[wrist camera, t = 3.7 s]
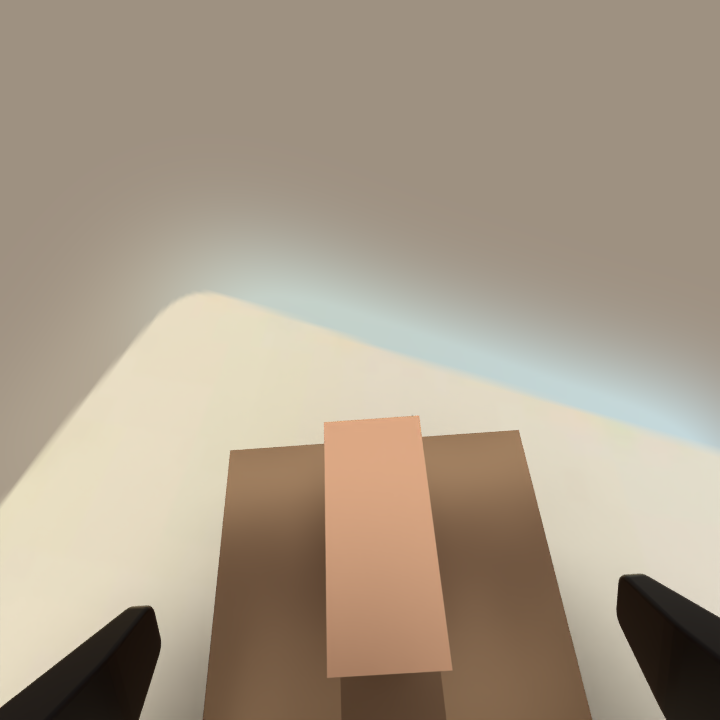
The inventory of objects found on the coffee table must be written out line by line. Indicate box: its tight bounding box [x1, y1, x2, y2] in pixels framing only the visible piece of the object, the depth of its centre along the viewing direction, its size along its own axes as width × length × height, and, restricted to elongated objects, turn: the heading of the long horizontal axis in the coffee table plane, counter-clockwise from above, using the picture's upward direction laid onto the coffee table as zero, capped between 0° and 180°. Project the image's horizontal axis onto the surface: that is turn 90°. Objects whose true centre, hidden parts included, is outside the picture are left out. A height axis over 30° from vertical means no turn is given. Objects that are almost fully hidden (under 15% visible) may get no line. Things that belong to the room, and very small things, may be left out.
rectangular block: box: [324, 416, 453, 678], centre depth 12 cm, size 4×2×10 cm, turn 3°
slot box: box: [203, 430, 592, 720], centre depth 15 cm, size 8×10×4 cm
